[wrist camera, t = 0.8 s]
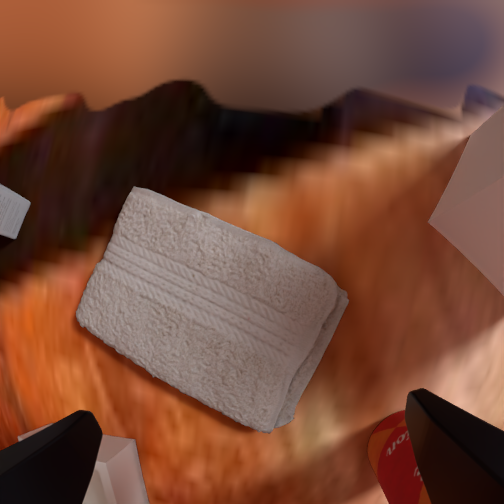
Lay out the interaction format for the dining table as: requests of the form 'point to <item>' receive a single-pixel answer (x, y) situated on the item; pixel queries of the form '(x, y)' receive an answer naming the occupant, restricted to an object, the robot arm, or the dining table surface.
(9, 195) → the skincare box
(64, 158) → the dining table surface
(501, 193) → the milk
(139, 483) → the dish
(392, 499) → the paper cup
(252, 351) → the washcloth
